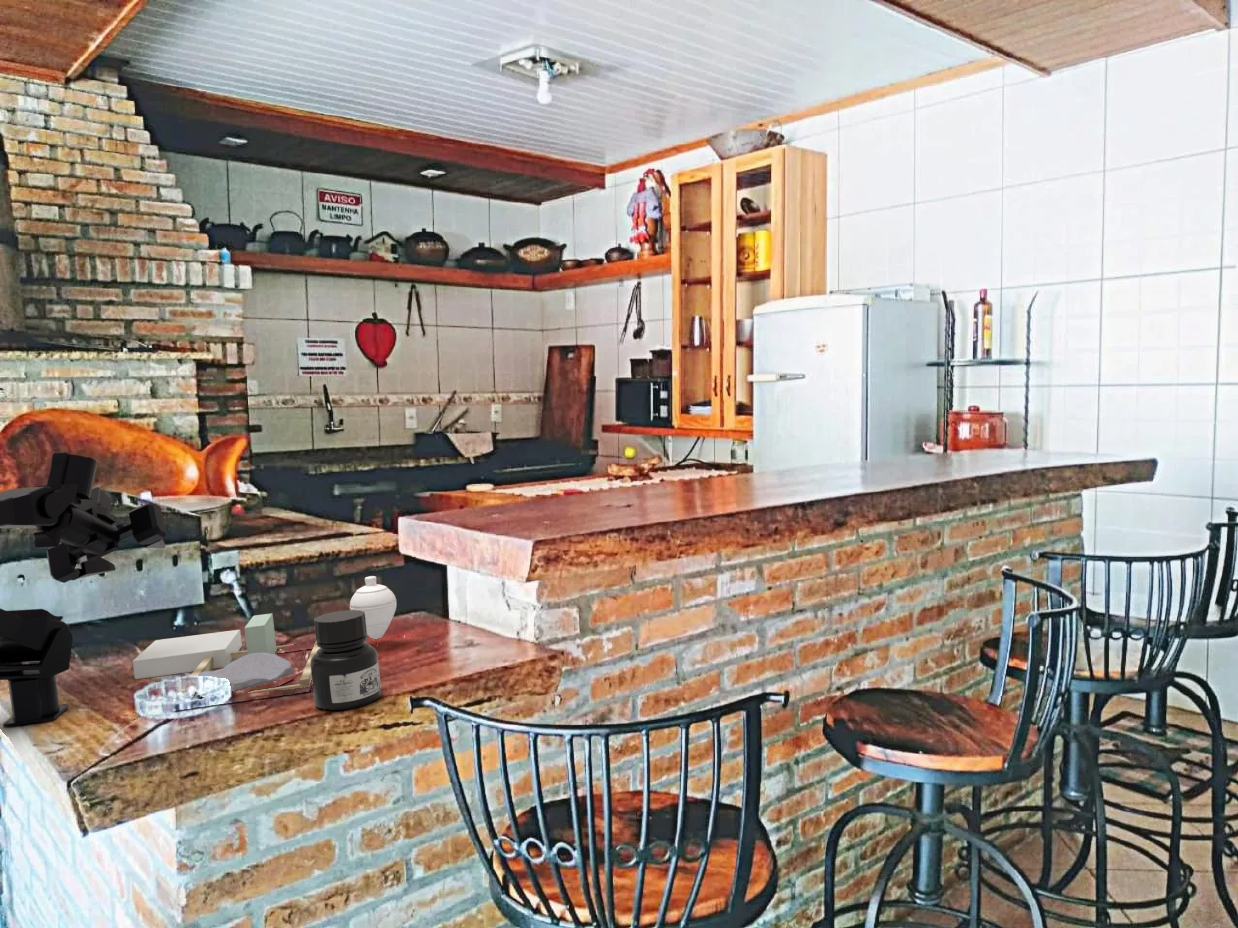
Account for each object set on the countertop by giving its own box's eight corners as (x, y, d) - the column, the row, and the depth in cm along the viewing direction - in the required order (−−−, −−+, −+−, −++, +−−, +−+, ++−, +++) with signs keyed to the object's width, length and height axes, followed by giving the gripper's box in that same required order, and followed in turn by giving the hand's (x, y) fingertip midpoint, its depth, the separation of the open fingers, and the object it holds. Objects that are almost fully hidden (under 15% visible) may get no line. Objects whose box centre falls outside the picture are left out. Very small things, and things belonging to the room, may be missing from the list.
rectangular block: (269, 671, 150) (264, 625, 149) (249, 674, 149) (244, 627, 148) (277, 657, 158) (272, 613, 158) (258, 659, 158) (253, 615, 157)
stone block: (301, 690, 144) (258, 672, 149) (301, 661, 143) (258, 644, 148) (235, 719, 134) (190, 699, 139) (234, 688, 133) (189, 669, 138)
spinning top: (402, 648, 157) (395, 577, 156) (355, 655, 155) (347, 583, 154) (398, 637, 164) (391, 570, 163) (353, 644, 162) (346, 576, 161)
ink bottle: (343, 716, 124) (333, 626, 123) (298, 709, 129) (289, 622, 128) (397, 693, 132) (388, 609, 131) (353, 687, 137) (344, 606, 136)
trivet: (227, 666, 154) (225, 648, 154) (134, 679, 151) (132, 661, 151) (242, 645, 168) (240, 629, 168) (157, 657, 165) (155, 640, 165)
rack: (310, 692, 136) (308, 678, 136) (173, 711, 132) (171, 697, 132) (326, 646, 162) (324, 635, 162) (212, 661, 158) (211, 649, 158)
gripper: (122, 459, 149) (180, 493, 163) (14, 508, 148) (81, 538, 163) (135, 519, 144) (193, 549, 158) (23, 570, 144) (91, 595, 158)
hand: (139, 556), depth 160 cm, fingers open, 9 cm apart
